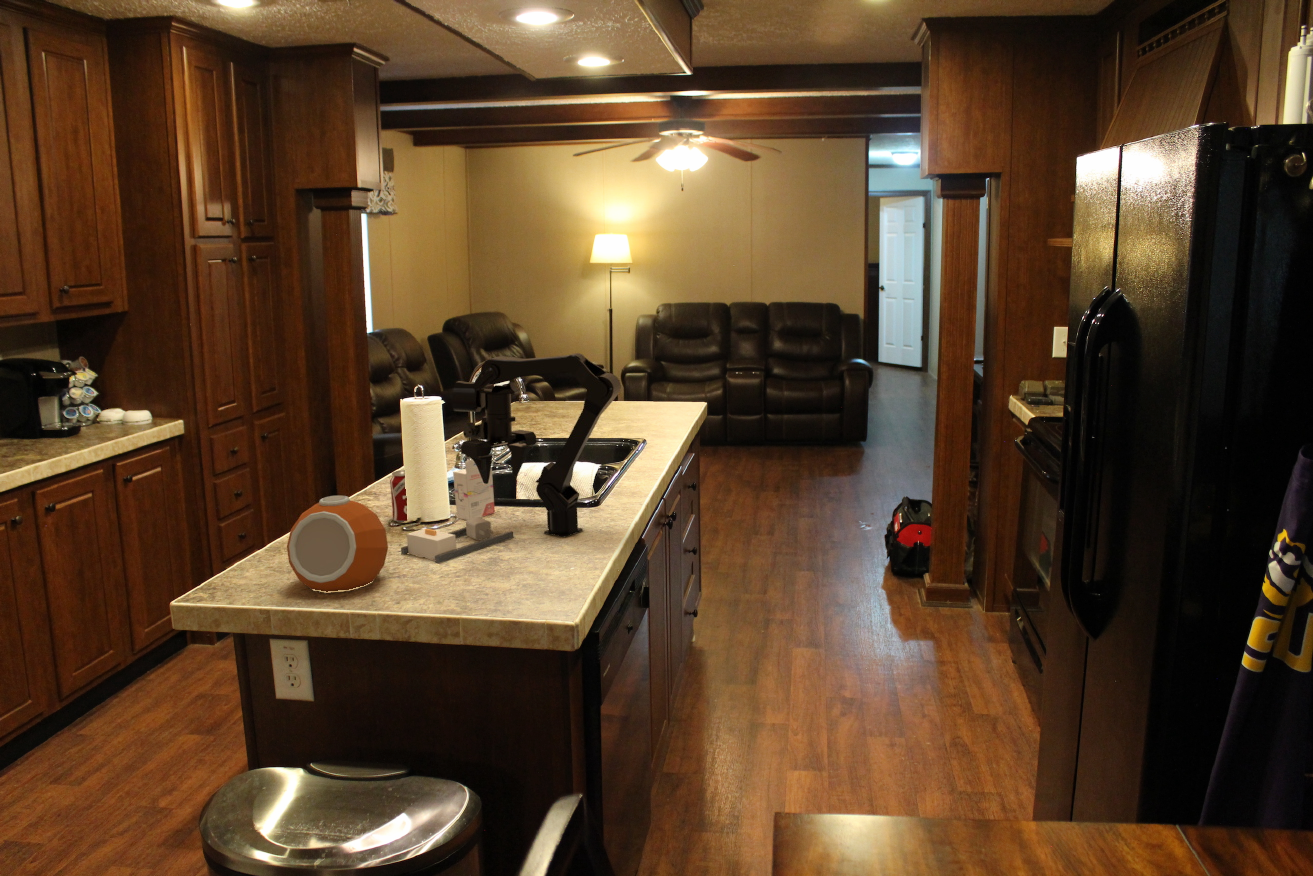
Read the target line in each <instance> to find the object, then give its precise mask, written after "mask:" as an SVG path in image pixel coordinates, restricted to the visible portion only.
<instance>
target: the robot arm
mask: <svg viewBox="0 0 1313 876" xmlns="http://www.w3.org/2000/svg"><path fill="white" fill-rule="evenodd" d="M565 373H566V374H567V373H570V374H571V375H572V376H573V377H574V378H575V379H576V380H577V382H578V384H580V385H581V386H582V387H583V388H584V389H585V390H586V393H585V396H584V403H583V408H582V410H581V413H580V414H579V416H578V418H577V420H576V422H575V424H574V427H573V428H572V430H571V432H570V434H569V435H568V438H567V439H566V442H565V444H564V446H563V447H562V449H561V452H560V453H559V455H558V457H557V459H556V460H555V462H554V461H550V462H549V463H548V464H546V465H544V466H543V467H542V470H541V472H540V476H539V477H538V479H536V481H535V483H537V484H536V488H535V491H536V494H537V497H539V499H540V500H541V501H542V503H543V505H544V507H545V510H546V511H547V512H546V519H547V529H546V530H544V531H543V533H544V534H545V535H551V536H555V537H561V538H566V537H570V536H572V535H575V534H578V533H580V532H583V531H584V529H583V528H581V527H579V522H578V506H577V505H575V503H577V502H578V500H579V497H580V493H579V492H578V491H577V490H576V489H575V487H573V486H572V485H571V483H572V479H573V474H574V469H575V468H574V467H575V465H576V463H577V461H578V459H579V457H580V456H581V454H582V452H583V450H584V448H585V446H586V444H587V442H588V440H589V438H590V437H591V435H592V433H593V431H594V429H595V427H596V425H597V423H598V421H599V420H600V418H601V416H602V414H603V413H604V412H605V411H606V409H608V407H609V406H610V405H611V404H612V403H613V401H614V400H615V399H616V397H617V396H618V395H619V394H620V393H621V389H622V384H621V382H620V379H619V378H618V376H616V375H615V374H613V373H611V372H607V371H605V370H604V369H603V368H602V367H600V366H599V365H597V364H595V363H593V362H592V361H591V360H590V359H588V358H587V357H585V356H584V354H582V353H580V352H575V353H573V354H566V355H564V354H563V355H555V356H544V357H534V358H533V357H532V358H519V357H515V356H505V355H504V356H503V355H500V356H496V357H493V358H489V359H486V360H485V361H484V362H483V363H482V364H481V368H480V373H479V374H478V377H477V378H476V379H475V380H474V382H471V381H470V382H469V381H468V382H467V381H465V380H457V381H455V382H454V388H453V390H452V394H451V397H450V404H451V407H452V409H453V411H454V412H473V413H480V412H481V411H482V409H483V408H485V416H482V417H481V421H480V422H481V423H479V424H474V422H472V421H471V422H468V423H467V422H466V423H464V424H463V427H462V432H463V436H464V438H465V439H469V440H465V441H462V442H461V444H460V453H461V454H460V455H465V457H467V458H469V459H470V460H473V461H474V462H475V463H474V464H475V466H477V468H478V470H479V473H480V475H481V478H482V480H483V482H484V483H485V484H488V482H489V477H490V470H491V467H492V461H493V455H491V452H492V450H493V449H497V448H501V447H505V446H506V447H507V448H508V450H509V452H510V457H511V458H510V460H511V461H510V462H511V472H512V476H513V477H517V476H519V473H520V470H521V469H522V466H523V463H524V462H525V460H526V458H527V456H528V455H529V452H530V450H531V449H533V447H534V446H533V445H537V435H536V434H535V432H534V431H530V430H525V429H517V430H513V429H512V427H513V426H512V423H513V422H516V416H512V396H511V395H515V394H517V393H519V392H520V391H521V390H520V388H518V387H517V386H516V385H515V384H514V383H513V382H512V380H515V379H519V378H522V377H531V376H532V377H533V376H543V375H556V374H565ZM509 381H511V382H509ZM505 382H509V383H507V385H502V384H501V383H505ZM500 384H501V385H500ZM492 385H494V386H493V387H492V388H488V387H490V386H492Z"/></svg>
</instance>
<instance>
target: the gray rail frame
mask: <svg viewBox="0 0 1313 876" xmlns="http://www.w3.org/2000/svg"><path fill="white" fill-rule="evenodd" d="M447 533H448V534H453V535H455V538H456V539H458V538H461V537H465V536H467V532H466V526H465V527H461V528H458V529H456V530H453V531H449V532H447ZM511 539H514V531H513V530H508V531H504V532H503V533H499V534H496V535H493V536H491V537H490V538H486V539H482V540H477V541H475V542H472V543H470V544H465V545H464V546H460V547H456V549H454V550H451V551H448V552H445V553H442V554H439V555H436V556H435V560H434V562H435V563H436V564H441V563H444V562H447V561H450V560H453V559H455V558H458V557H462V556H465V555H468V554H470V553H473V552H477V551H479V550H482V549H485V548H487V547H490V546H494V545H497V544H500V543H502V542H503V543H504V542H505V541H507V540H511ZM407 553H408V545H405V546H402V547H400V554H401V555H402V554H406V555H408V554H407Z"/></svg>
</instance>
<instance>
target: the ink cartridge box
mask: <svg viewBox="0 0 1313 876" xmlns="http://www.w3.org/2000/svg"><path fill="white" fill-rule="evenodd" d="M474 464H475V462H474V461H473V460H472V459H467V460H466V461H464V465H465V466H464V467H465V468H463V469H458V470H455V471H452V473H453V474H452V475H453V486H454V497H455V499H454V501H455V508H456V509H455V511H456V518H457V519H461V520H466V521H467V520H468V519H473V518H478V517H480V518H483V517H485V516H489V515H492V514H494V513H495V511H496V510H495V498H494V497H495V496H494V483H493V482H494V481H493V467H492V466H491V470H490V477H489V482H488V484H485V483H484V482H483V480H482V478H481V475H480V473H479V470H478V468H477V466H476V465H474Z"/></svg>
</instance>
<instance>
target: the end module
mask: <svg viewBox="0 0 1313 876" xmlns="http://www.w3.org/2000/svg"><path fill="white" fill-rule="evenodd" d="M448 533H449V532H444V531H437V530H435V529H431V528H421V529H419V530H415V531H412V532H409V533H406V543H407V546H408V553H409V554H408V555H410V554H413V555H412V556H414V555H417V556H416V557H419V556H420V557H419V558H423V557H425V558H424V559H426V560H431V561H435V556H436V555H439V554H442V553H445V552H448V551H451V550H454V549H457V542H456V541H457V540H456V539H457V538H455V535H453V534H448Z"/></svg>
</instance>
